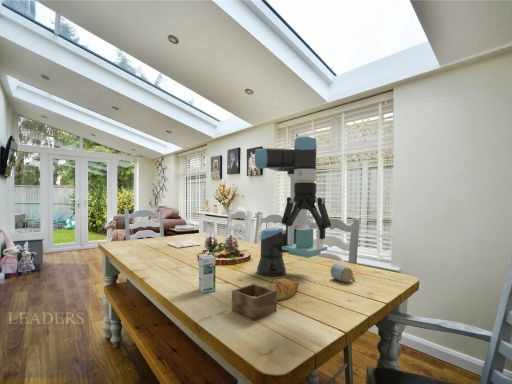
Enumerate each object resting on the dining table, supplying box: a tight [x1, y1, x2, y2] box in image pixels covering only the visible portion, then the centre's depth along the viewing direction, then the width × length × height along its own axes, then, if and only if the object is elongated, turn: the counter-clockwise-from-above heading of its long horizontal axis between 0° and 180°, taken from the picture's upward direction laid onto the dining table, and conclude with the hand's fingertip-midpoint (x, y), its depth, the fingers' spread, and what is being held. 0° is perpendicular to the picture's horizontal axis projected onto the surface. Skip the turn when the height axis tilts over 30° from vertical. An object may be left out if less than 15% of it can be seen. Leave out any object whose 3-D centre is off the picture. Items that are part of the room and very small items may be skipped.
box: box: [231, 283, 278, 322], centre depth 96 cm, size 11×11×7 cm
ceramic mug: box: [330, 262, 356, 283], centre depth 132 cm, size 11×8×8 cm
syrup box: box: [198, 254, 216, 294], centre depth 117 cm, size 6×6×14 cm
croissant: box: [268, 277, 299, 301], centre depth 111 cm, size 21×10×8 cm, turn 136°
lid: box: [282, 228, 328, 259], centre depth 94 cm, size 11×11×9 cm
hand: (304, 246), depth 94 cm, fingers closed on lid, 11 cm apart
